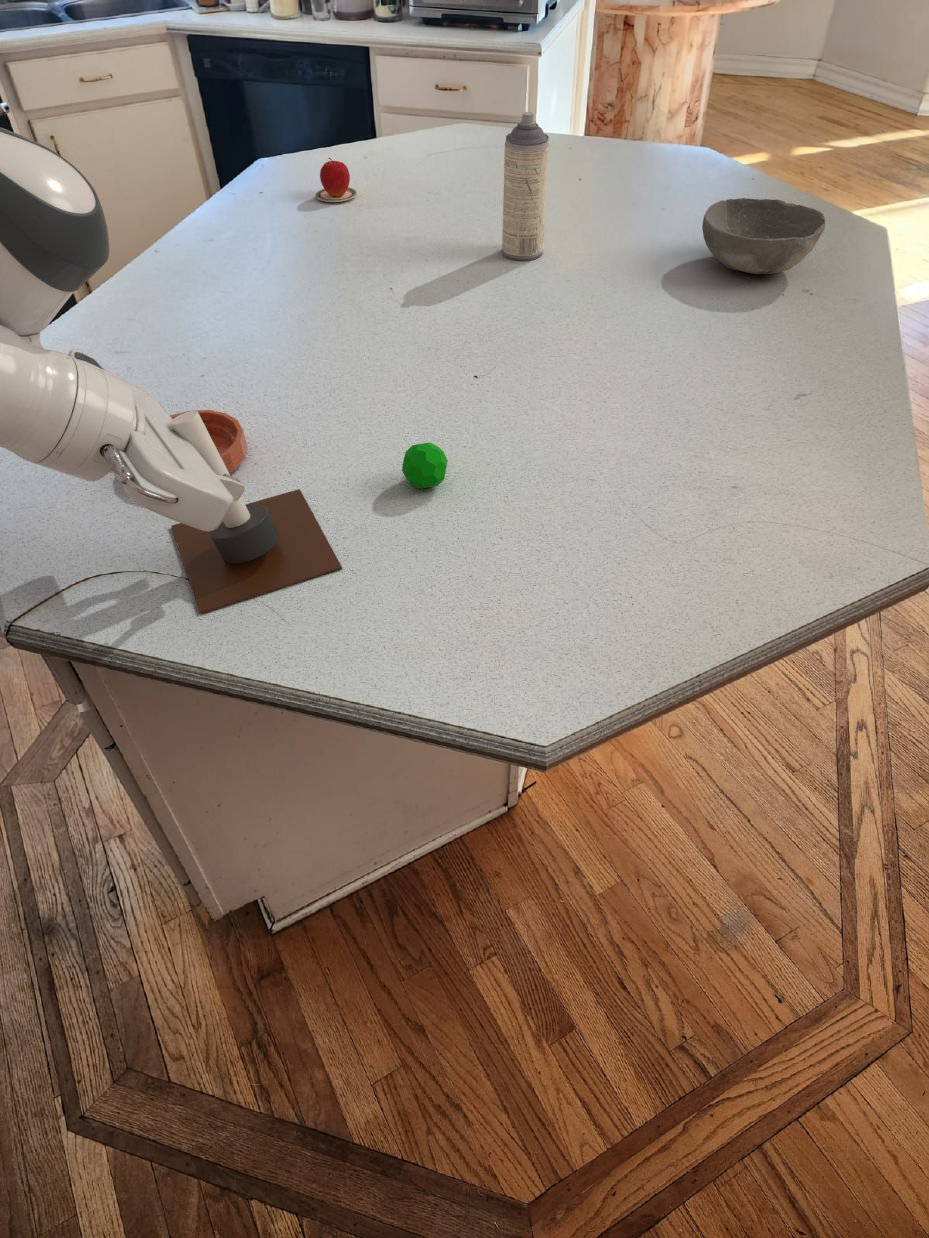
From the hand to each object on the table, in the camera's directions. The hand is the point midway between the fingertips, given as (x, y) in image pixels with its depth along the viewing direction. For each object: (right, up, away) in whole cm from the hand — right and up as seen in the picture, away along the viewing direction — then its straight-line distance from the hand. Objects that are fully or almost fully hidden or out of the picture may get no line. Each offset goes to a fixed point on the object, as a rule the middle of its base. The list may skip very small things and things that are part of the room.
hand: (229, 478), depth 72 cm
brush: (+1, -6, +4) cm, 7 cm away
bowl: (+69, +43, +50) cm, 96 cm away
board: (+1, -6, +5) cm, 8 cm away
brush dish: (-9, +5, +16) cm, 19 cm away
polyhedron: (+18, +2, +12) cm, 22 cm away
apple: (-2, +68, +75) cm, 101 cm away
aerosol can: (+32, +48, +55) cm, 80 cm away
